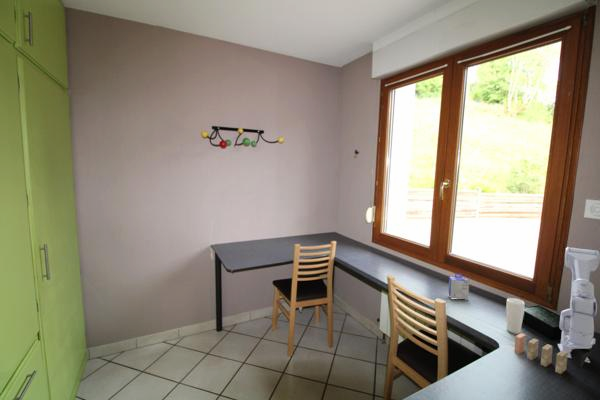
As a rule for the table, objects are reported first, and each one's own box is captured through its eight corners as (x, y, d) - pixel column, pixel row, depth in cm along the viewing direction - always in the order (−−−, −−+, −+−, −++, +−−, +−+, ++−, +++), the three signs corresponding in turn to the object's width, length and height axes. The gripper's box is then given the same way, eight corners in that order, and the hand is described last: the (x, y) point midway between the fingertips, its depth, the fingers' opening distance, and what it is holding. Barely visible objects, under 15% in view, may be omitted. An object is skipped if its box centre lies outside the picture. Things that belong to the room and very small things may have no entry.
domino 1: (537, 356, 116) (538, 340, 116) (531, 360, 114) (533, 343, 113) (532, 354, 118) (534, 338, 117) (527, 358, 115) (528, 341, 115)
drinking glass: (501, 329, 136) (503, 299, 135) (510, 326, 139) (512, 296, 138) (516, 336, 130) (519, 305, 129) (525, 333, 133) (528, 302, 131)
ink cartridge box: (465, 296, 172) (466, 273, 170) (468, 301, 166) (470, 277, 165) (447, 295, 174) (448, 272, 172) (450, 299, 168) (451, 275, 167)
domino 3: (566, 369, 108) (567, 352, 108) (560, 374, 106) (562, 356, 105) (560, 367, 110) (562, 350, 109) (555, 371, 108) (556, 354, 107)
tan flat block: (551, 362, 112) (552, 346, 112) (545, 366, 110) (547, 349, 109) (546, 360, 114) (547, 344, 113) (540, 364, 111) (542, 347, 111)
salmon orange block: (524, 350, 120) (525, 334, 120) (518, 354, 118) (520, 338, 117) (520, 348, 122) (521, 332, 121) (514, 352, 119) (515, 336, 119)
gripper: (579, 320, 108) (576, 354, 110) (554, 327, 104) (551, 362, 105) (604, 330, 102) (600, 366, 103) (578, 338, 97) (575, 375, 98)
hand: (577, 365), depth 104 cm, fingers closed
